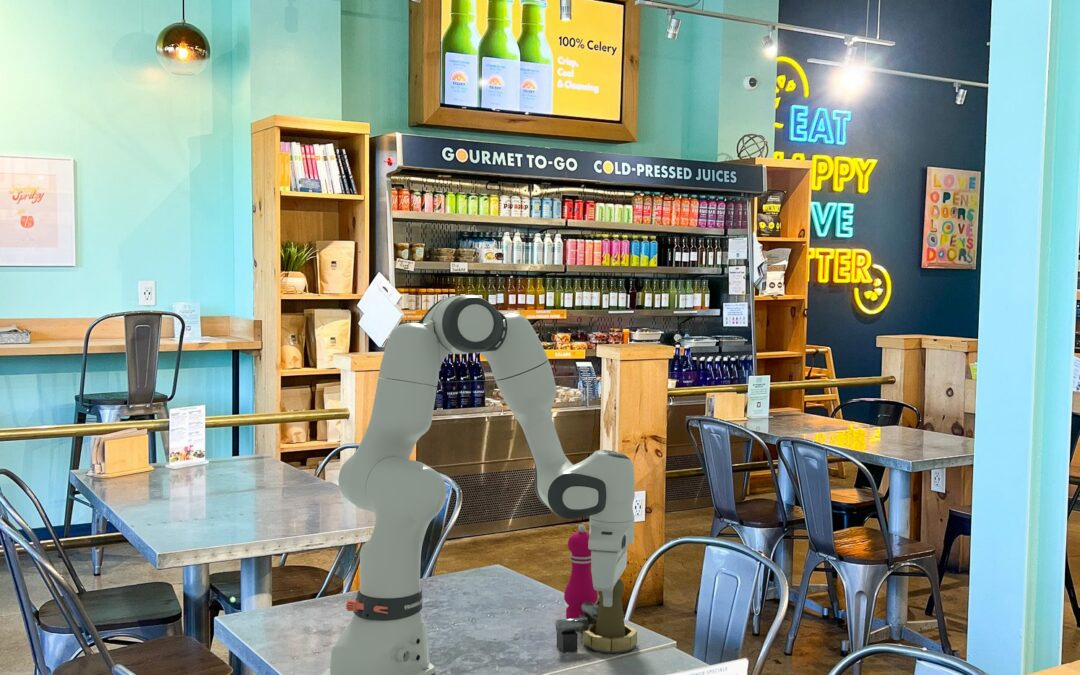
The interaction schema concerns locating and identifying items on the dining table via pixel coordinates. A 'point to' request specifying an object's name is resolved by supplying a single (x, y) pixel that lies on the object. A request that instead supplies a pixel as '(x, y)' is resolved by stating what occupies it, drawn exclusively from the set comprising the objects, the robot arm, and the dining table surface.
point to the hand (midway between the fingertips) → (610, 601)
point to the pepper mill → (579, 574)
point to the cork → (611, 615)
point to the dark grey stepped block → (570, 633)
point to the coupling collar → (610, 641)
